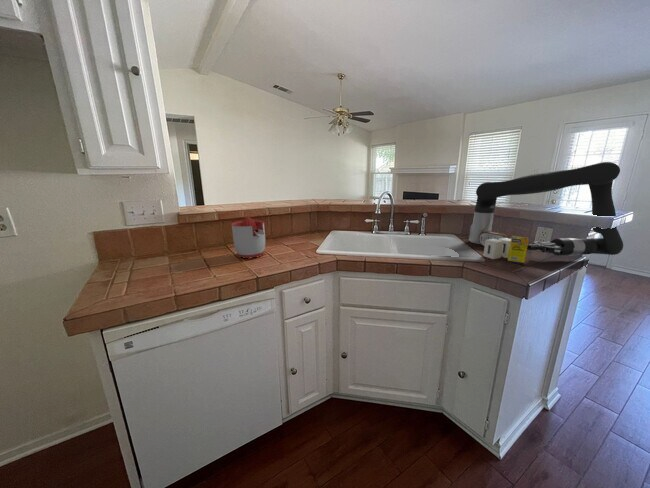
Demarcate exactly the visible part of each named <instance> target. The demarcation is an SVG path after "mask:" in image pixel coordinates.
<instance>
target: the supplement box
mask: <svg viewBox="0 0 650 488" xmlns="http://www.w3.org/2000/svg"><path fill="white" fill-rule="evenodd" d="M510 239H511V243H510V248H509V253H508V258H506V259H507V263H511V264H519V265H525V262H526V261H525V260H526V255H527V251H528V250H527V247H528V244H529V242H530V241H529V240H530V239H529V237H526V236H517V235H511V236H510Z"/></svg>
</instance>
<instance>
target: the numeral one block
mask: <svg viewBox="0 0 650 488" xmlns="http://www.w3.org/2000/svg"><path fill="white" fill-rule="evenodd" d="M503 242H504V241H500V240H496V239H488V240H486V241H485V246H483V247H484V249H483V253H482V254H483V255H482V257H485V258H488V259H491V260H495V259H496V260H497V259H500V258H502V257H501V254H502V248H503Z"/></svg>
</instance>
